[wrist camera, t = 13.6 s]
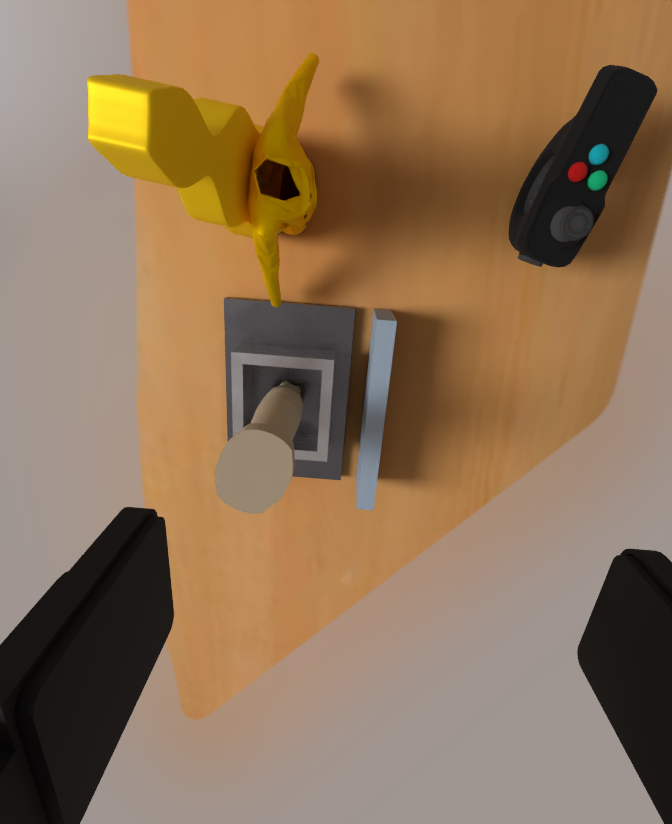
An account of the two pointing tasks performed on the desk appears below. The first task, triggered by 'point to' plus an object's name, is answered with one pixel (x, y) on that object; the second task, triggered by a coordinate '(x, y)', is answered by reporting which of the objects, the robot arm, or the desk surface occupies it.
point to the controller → (579, 169)
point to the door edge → (375, 405)
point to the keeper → (292, 372)
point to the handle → (261, 453)
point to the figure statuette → (212, 155)
